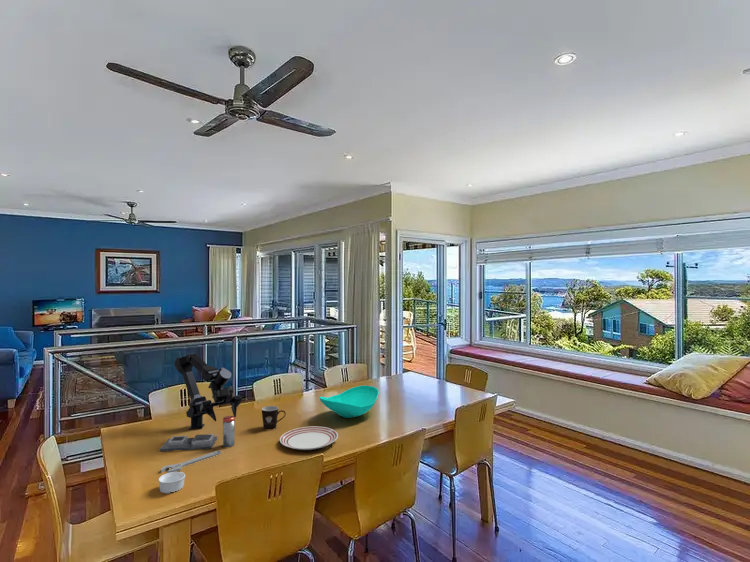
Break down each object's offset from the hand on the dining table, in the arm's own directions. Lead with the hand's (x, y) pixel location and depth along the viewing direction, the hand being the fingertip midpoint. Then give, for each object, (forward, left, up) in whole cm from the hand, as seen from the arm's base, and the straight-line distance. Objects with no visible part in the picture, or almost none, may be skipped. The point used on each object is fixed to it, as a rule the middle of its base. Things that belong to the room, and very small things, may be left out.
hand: (225, 418), depth 194 cm
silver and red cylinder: (+4, +2, -11) cm, 12 cm away
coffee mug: (-17, +20, -11) cm, 29 cm away
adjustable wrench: (+21, -9, -12) cm, 26 cm away
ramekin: (+42, -11, -11) cm, 45 cm away
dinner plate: (+5, +39, -12) cm, 41 cm away
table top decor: (-31, +62, -11) cm, 70 cm away
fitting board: (+1, -16, -11) cm, 19 cm away
